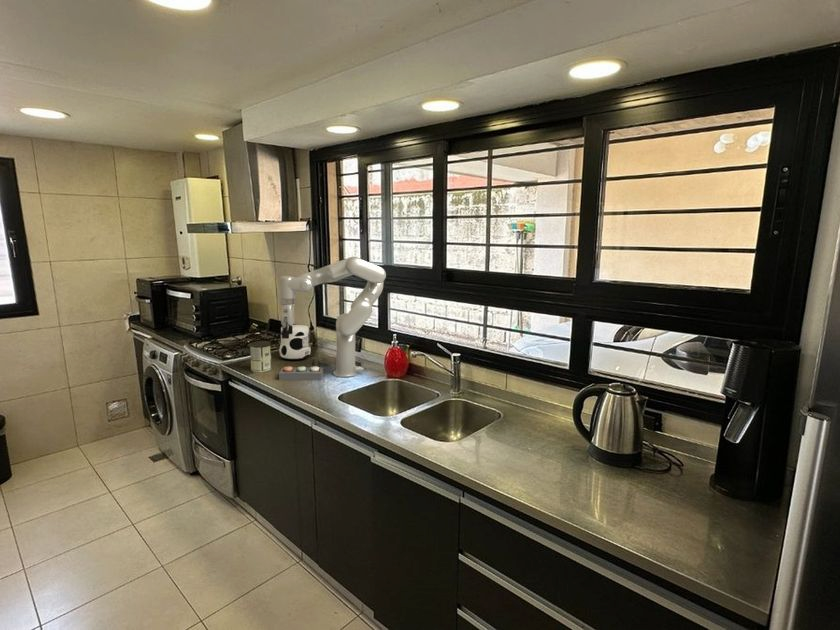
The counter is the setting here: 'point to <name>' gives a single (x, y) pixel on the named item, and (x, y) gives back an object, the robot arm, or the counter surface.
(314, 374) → the button panel
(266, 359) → the coffee can
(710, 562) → the counter surface
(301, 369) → the green button
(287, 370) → the terracotta button
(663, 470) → the counter surface
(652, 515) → the counter surface
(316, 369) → the cream button
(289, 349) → the milk container
